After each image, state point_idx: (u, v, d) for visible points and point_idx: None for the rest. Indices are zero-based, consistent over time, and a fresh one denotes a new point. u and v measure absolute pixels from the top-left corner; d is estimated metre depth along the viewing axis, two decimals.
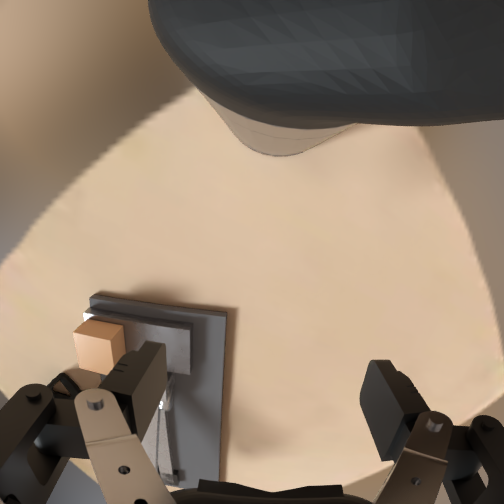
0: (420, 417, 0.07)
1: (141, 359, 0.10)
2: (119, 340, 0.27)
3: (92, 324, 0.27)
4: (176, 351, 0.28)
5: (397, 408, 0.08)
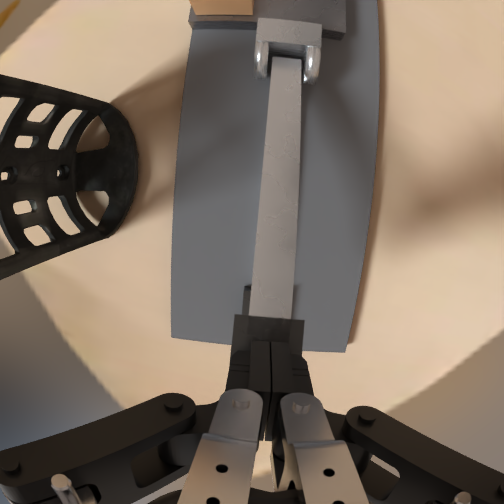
0: (283, 404, 0.08)
1: (258, 357, 0.11)
2: None
3: None
4: (328, 2, 0.17)
5: (272, 387, 0.09)
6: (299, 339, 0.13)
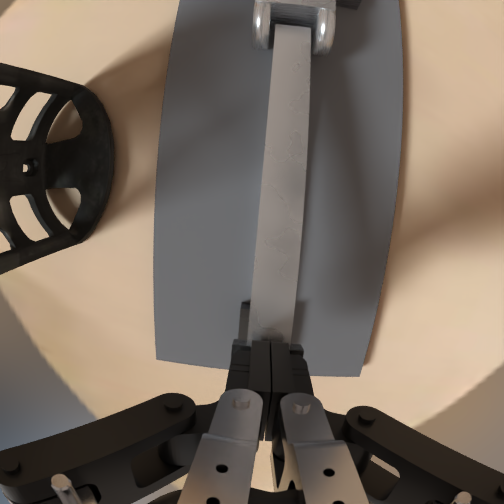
0: (284, 404, 0.08)
1: (258, 357, 0.11)
2: None
3: None
4: None
5: (272, 387, 0.09)
6: None
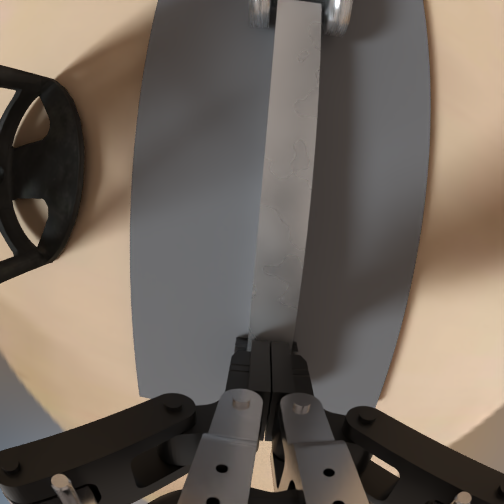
0: (283, 404, 0.08)
1: (258, 358, 0.11)
2: None
3: None
4: None
5: (271, 387, 0.09)
6: None
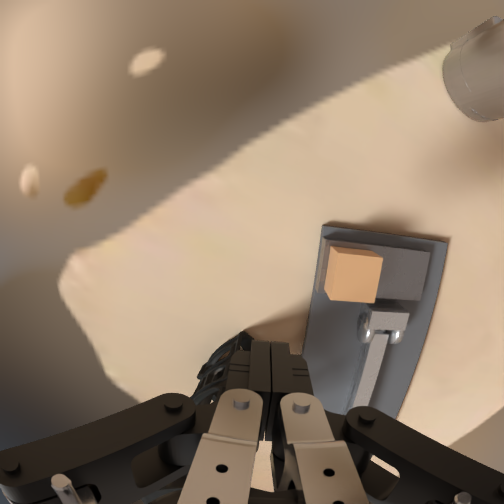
0: (284, 404, 0.08)
1: (259, 358, 0.11)
2: None
3: (344, 249, 0.27)
4: (415, 275, 0.28)
5: (271, 387, 0.09)
6: None
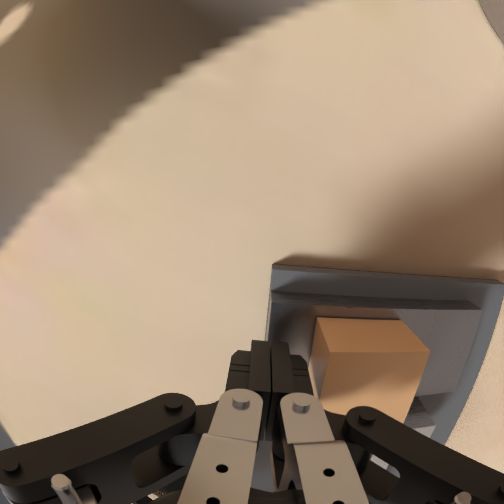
0: (283, 404, 0.08)
1: (258, 357, 0.11)
2: None
3: (346, 327, 0.12)
4: (452, 354, 0.13)
5: (271, 387, 0.09)
6: None
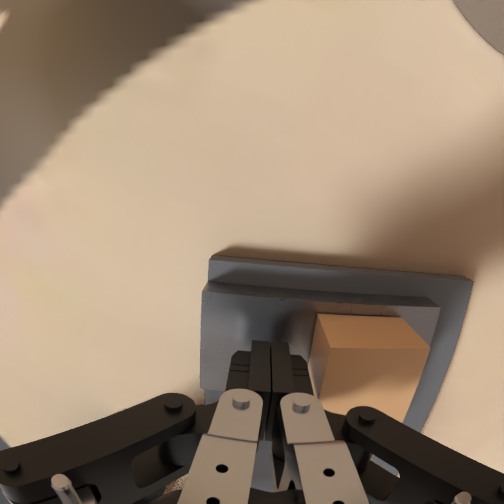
0: (283, 404, 0.08)
1: (259, 357, 0.11)
2: None
3: (346, 323, 0.12)
4: None
5: (271, 387, 0.09)
6: None
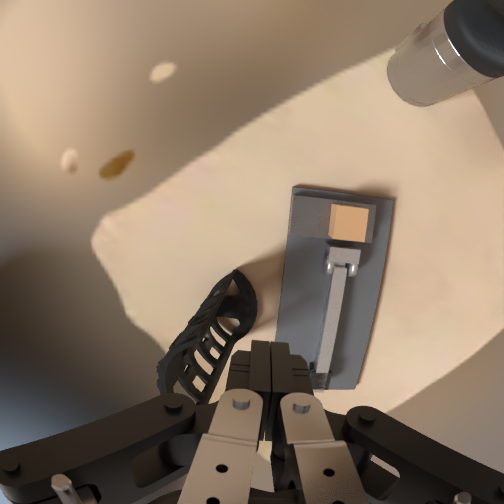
0: (284, 404, 0.08)
1: (258, 357, 0.11)
2: None
3: None
4: None
5: (272, 387, 0.09)
6: (329, 378, 0.43)
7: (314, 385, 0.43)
